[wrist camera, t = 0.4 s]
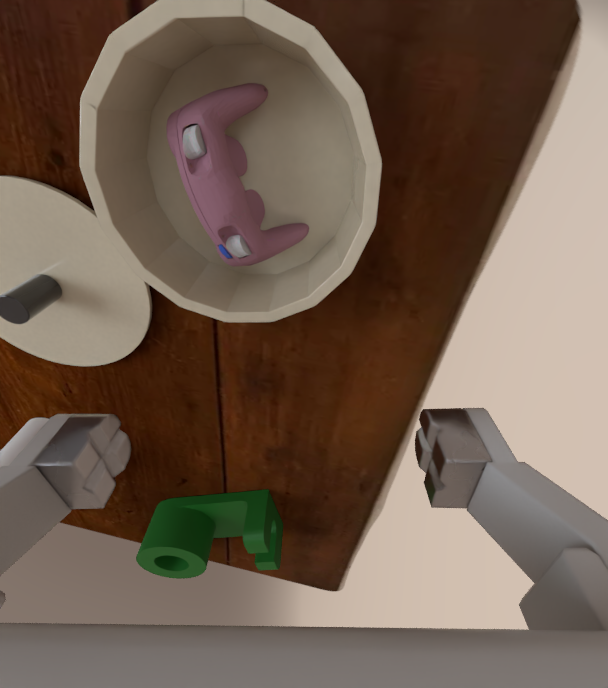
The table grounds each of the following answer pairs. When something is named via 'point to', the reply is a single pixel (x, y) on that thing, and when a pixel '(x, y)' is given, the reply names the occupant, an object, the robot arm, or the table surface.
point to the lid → (65, 280)
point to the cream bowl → (258, 143)
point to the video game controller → (225, 176)
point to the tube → (20, 440)
